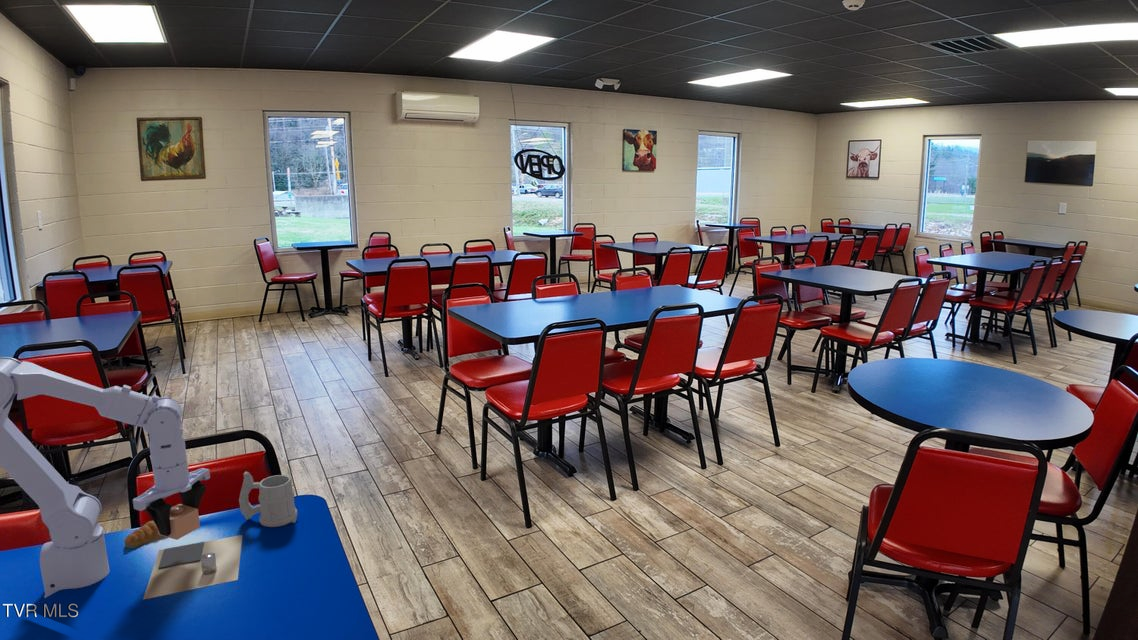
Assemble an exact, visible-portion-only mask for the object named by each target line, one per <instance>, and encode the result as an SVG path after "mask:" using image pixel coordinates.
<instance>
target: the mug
mask: <svg viewBox="0 0 1138 640" xmlns="http://www.w3.org/2000/svg"><path fill="white" fill-rule="evenodd" d="M253 489H259V490H258V491H259V493H258V494H259V495H258V502H259V504H256V505H255V506H254V505H252V504H251V502H249V495H250V492H251V491H252V490H253ZM294 496H295V490H294V488H293V483H292V479H291V476H289V475H285V474H277V475H271V476H267V477H266V478H263V479H262V480H261V481H260V482H259V481H256V482H255V481H254V477H253V476H252V474H251V473H250V472H249V471H244V473H243V482H242V485H241V489H240V493H239V499H238V502H239V507H240V508H239V509H240V512H241V514H242V516H244V518H245V520H250V519H251V518H252V517H253V516H255V515H256V514H259V513H260V515H259V517H258V520H259V523H260V525H262V526H264V527H267V528H278V527H283V526H286V525H288V524H290V523H296V522H297V517H298V509H297V508H296V505H295V498H294Z"/></svg>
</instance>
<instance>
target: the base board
mask: <svg viewBox="0 0 1138 640" xmlns="http://www.w3.org/2000/svg"><path fill="white" fill-rule="evenodd" d="M203 542H204V546H203V551H202V555H204V554H206V553H210V552H212V553H215V557H216V566H217V571H216V572H215V573H213V574H210V575H204V574H203V573H202V565H201V561H198V562H193V563H188V564H183V565H178V566H172V567H167V568H162V569H158V567H159V564H160V561H161V558H162V554H163V551H164V549H165V548H164V549H159V550H158V552H157V554H156V555H157V556H156V558H155V561H154V565H153V568H152V571H151V574H150V578H149V579H148V583H147V587H146V589H145V592H144V594H143V598H142V600H147V599H153V598H157V597H162V596H167V595H172V594H177V593H182V592H185V591H190V590H191V591H192V590H195V589H201V588H206V587H210V586H215V585H221V584H225V583H229V582H235V581H239V572H240V571H239V570H240V563H241V562H240V561H241V553H242V543H243V534H240V535H234V536H229V537H222V538H218V539H217V538H216V539H213V540H211V539H210V540H207V541H203Z"/></svg>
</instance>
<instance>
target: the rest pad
mask: <svg viewBox="0 0 1138 640" xmlns="http://www.w3.org/2000/svg"><path fill="white" fill-rule="evenodd" d="M204 542H205V541H200V542H196V543H190V544H185V545H179V546H173V547H168V548H164V551H163V554H162V558H161V561H160V564H159V567H158V569H162V568H167V567H172V566H178V565H183V564H188V563H193V562H198V561H201V556H202V551H203V546H204Z"/></svg>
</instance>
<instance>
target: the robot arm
mask: <svg viewBox="0 0 1138 640" xmlns="http://www.w3.org/2000/svg"><path fill="white" fill-rule="evenodd" d="M16 395H17V396H16ZM39 395H45V396H49V397H53V398H57V399H62V400H65V401H70V402H74V403H78V404H82V405H86V406H91V407H94V408H95V409H96V410H97V412H98V414H99V415H100V416H101V417H103V418H108V419H110V420H114V421H118V422H121V423H125V424H128V425H131V426H135V427H142V428H143V429H144V431H145V432H146V433H147V435H148V436H149V443H148V445H149V452H150V459H151V465H152V466H151V467H152V474H153V480H154V481H153V482H154V485H153V486H152V487H150V488H149V489H147V490H146V491H145V492H143V493H142V494H140V495H139V496H137V497H134V498H133V499H132V504H133V509H134V510H136V511H140V512H142V511H145V512H146V513H147V514H148V515H149V517H150V518H151V520H152V521H154V522H155V524H156V526H157V528H158V530H159V533H160V534H161V535H164V536H169V535H170V534H171V526H170V510H171V507H173V505H172V504H171V503H167V502H166V500H164V499H166V498H167V497H170V496H173V495H174V494H175V495H176V494H179V495H180V500H181V502H182V505H186V506H190V507H193V508H197V509H198V510H199V508H200V504H201V500H202V498H203V496H204V494H205V492H206V491H207V489H206V488H207V486H206V484H204V483H202V482H201V481H208V480H209V479H211V474H210V469H209V468H205V467H201V468H198V469H196V470H193V471H190V472H189V466H188V455H187V449H186V441H185V435H184V434H183V433H184V430H183V426H182V416H183V410H182V409H183V408H182V406H181V405H180V403H179V402H178V401H177V400H175V399H172V397H170V396H162V397H160V396H158V395H155V394H154V395H153V396H150V395H147V394H143V393H140V392H137V391H134V390H132V386H129V385H127V384H123V385H122V387H121V386H119V385H114V386H111V387H107V388H102V387H98V386H96V385H92V384H90V383H87V382H85V381H82V380H79V379H75V378H73V377H70V376H67V375H64V374H62V373H58V372H56V371H52V370H50V369H47V368H45V367H43V366H40V365H38V364H35V363H33V362H30V361H26V360H25V361H20V360H19V359H17V358H13V357H9V356H0V467H1V469H3V470H4V471H5V472H6V473H7V474H8V475H9V476H10V478H12V480H13V481H15V483H16V484H17V485H18V486H19V487H20V488H21V489H22V490H23V491H24V492H25V493H26V494H27V495H28V497H30V498H31V499H32V500H33V501H34V503H35V504H37V506H38V508H39V510H40V516H41V521H42V523H43V524H44V525H45V526H46V527H47V529H48V531H49V536H50V537H49V538H50V539H51V541H48V542H45V543H43V545H42V547H41V550H40V554H39V566H40V567H39V568H40V572H41V578H42V584H43V588H44V589H43V590H44V595H43V597H44V599H46V598H48V597H50V596H51V595H53V594H54V593H56V592H59V591H62V590H67V589H68V590H69V589H79V588H85V587H88V586H91V585H93V584H96V583H99V582H100V581H102V580H103V579H104V578H105V577H107V576H108V575H109V574H110V565H109V564H110V563H109V559H108V552H107V546H106V541H105V540H106V539H105V534H104V528H103V526H101V525H100V524H99V522H98V518H99V517H100V515H101V513H102V504H101V501H100V499H99V498H97V497H96V496H94V495H92V494H88V493H86V492H85V491H83V490H82V489H81V487H79V486H78V485H73V484H72V483H71V484H70V483H68V481H66V479H64V477H63V476H62V475H61V474H60V473H59V472H58V471H57V470H56V469H55V467H54V466H53V465H52V463H50V462H49V461H48V459H46V458H45V457H44V455H43V454H42V453H41V452H40V451H39V450H38V449H37V447H35V446H34V445H33V443H32V442H31V441H30V440H29V438H27V437H26V435H24V433H23V432H22V431H20V429H19V428H18V427H17V426H16V424H15V423H13V421H12V420H10V418H9V413H10V410H11V407H12V405H13V401H14V398H15V396H16V400H17V401H19V400H20V401H21V400H23V399H28V398H32V397H35V396H39Z"/></svg>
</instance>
